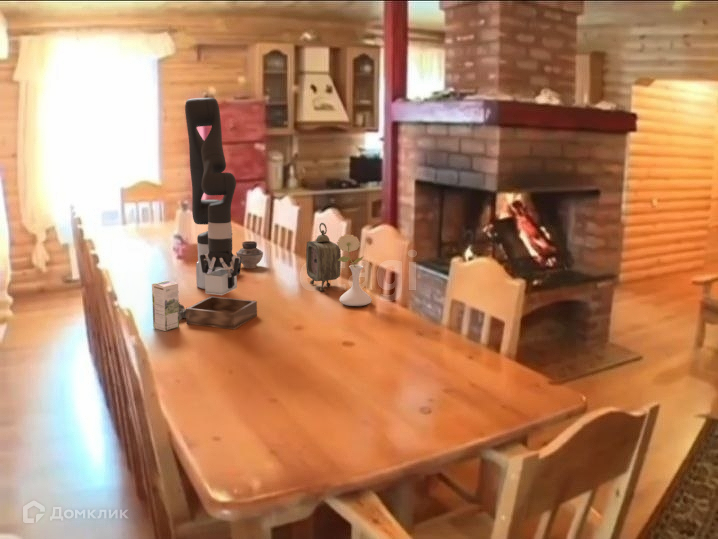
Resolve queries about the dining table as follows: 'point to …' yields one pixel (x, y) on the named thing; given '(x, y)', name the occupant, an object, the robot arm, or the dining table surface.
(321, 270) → the tabletop clock
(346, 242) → the flower in vase
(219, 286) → the small crate
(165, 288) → the syrup box
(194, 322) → the walnut crate
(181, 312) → the egg carton
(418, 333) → the dining table surface
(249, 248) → the pottery
